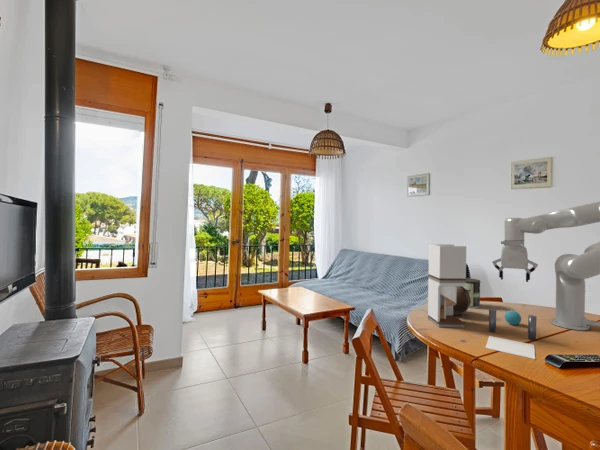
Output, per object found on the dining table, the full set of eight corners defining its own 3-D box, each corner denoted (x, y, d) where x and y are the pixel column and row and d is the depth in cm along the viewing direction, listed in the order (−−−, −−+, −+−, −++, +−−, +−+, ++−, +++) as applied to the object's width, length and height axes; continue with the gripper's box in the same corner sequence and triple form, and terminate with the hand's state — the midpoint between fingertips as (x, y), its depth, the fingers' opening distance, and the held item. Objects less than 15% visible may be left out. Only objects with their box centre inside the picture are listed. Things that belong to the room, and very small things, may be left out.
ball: (521, 324, 132) (521, 310, 132) (521, 327, 127) (521, 313, 127) (504, 321, 136) (505, 308, 136) (504, 324, 131) (504, 311, 131)
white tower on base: (438, 327, 127) (440, 246, 127) (427, 319, 138) (428, 244, 137) (465, 327, 127) (466, 246, 127) (452, 319, 138) (453, 244, 137)
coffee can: (475, 303, 165) (476, 278, 165) (483, 308, 155) (483, 282, 155) (455, 302, 167) (456, 277, 167) (461, 307, 157) (462, 281, 157)
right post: (536, 339, 115) (536, 316, 115) (536, 341, 113) (536, 317, 113) (527, 337, 117) (528, 314, 116) (528, 339, 115) (528, 316, 114)
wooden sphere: (429, 311, 150) (430, 281, 150) (450, 308, 156) (451, 279, 156) (455, 320, 136) (456, 288, 136) (477, 316, 142) (478, 285, 142)
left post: (496, 331, 123) (496, 309, 123) (495, 333, 121) (496, 311, 121) (489, 329, 124) (489, 308, 124) (488, 331, 122) (488, 310, 122)
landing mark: (534, 345, 109) (534, 344, 109) (535, 359, 98) (535, 358, 98) (489, 336, 117) (489, 335, 117) (485, 348, 106) (485, 347, 106)
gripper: (491, 243, 141) (491, 279, 141) (538, 245, 131) (538, 283, 131) (492, 242, 147) (492, 277, 147) (537, 244, 137) (537, 281, 137)
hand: (514, 280), depth 139 cm, fingers open, 9 cm apart
